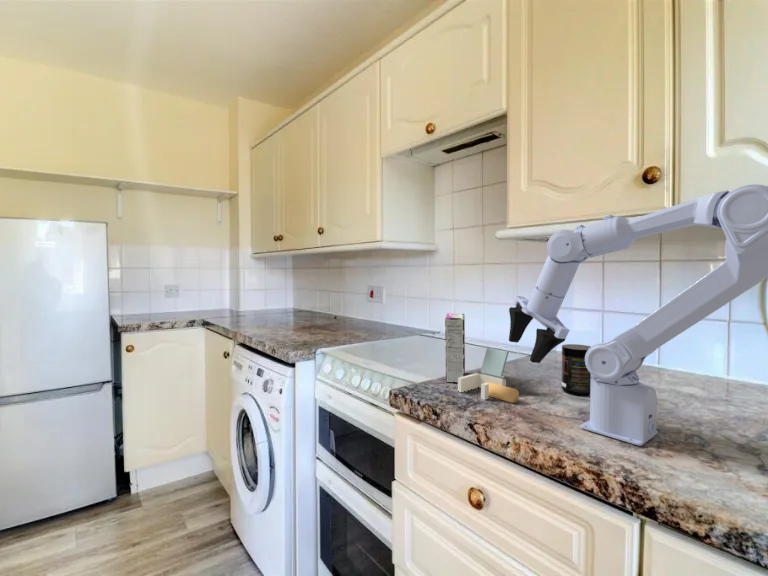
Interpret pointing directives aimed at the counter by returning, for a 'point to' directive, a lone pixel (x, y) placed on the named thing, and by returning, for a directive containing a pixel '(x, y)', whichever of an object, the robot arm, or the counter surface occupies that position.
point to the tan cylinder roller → (503, 392)
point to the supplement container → (575, 370)
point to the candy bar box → (455, 346)
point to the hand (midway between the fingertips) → (523, 351)
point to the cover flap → (494, 362)
